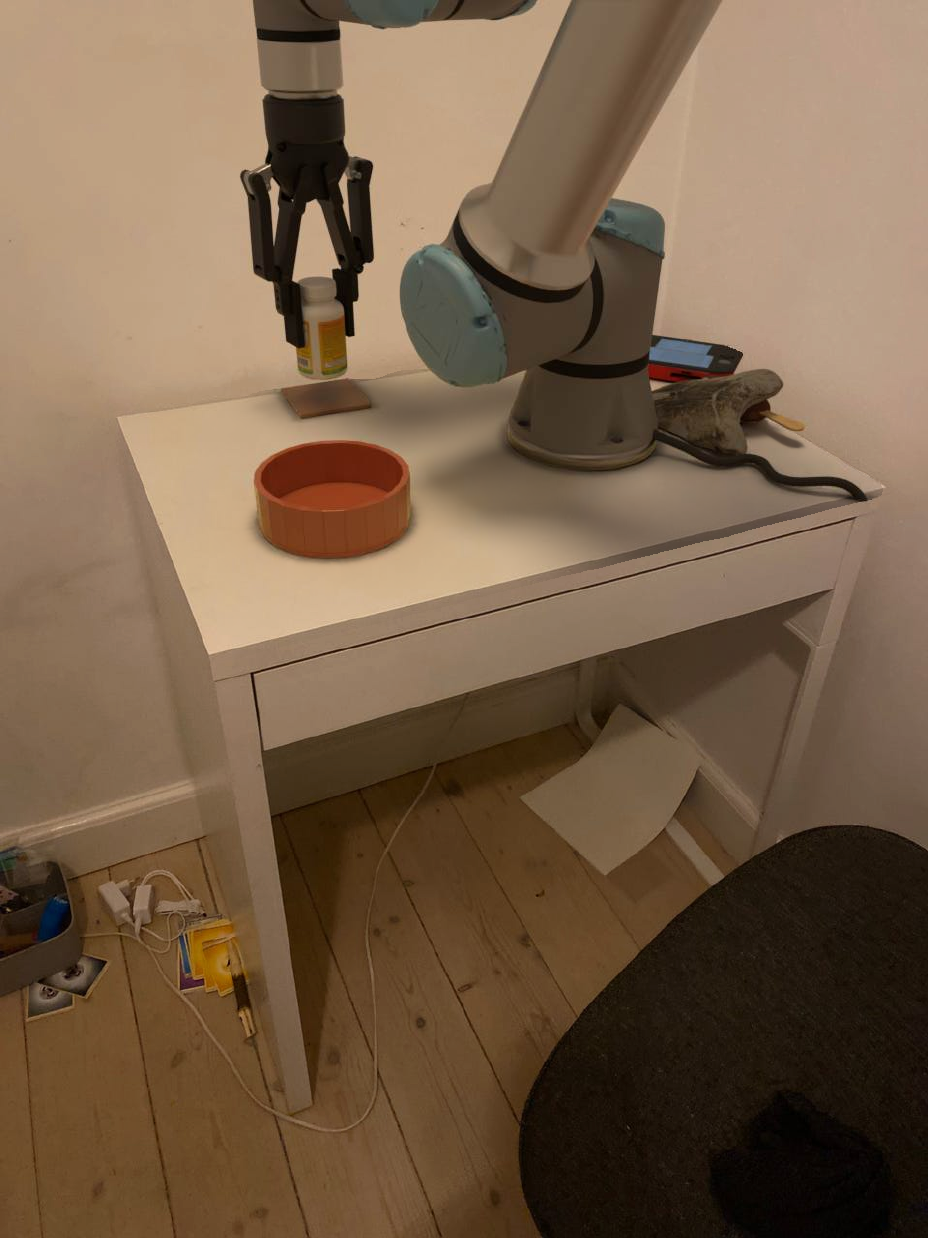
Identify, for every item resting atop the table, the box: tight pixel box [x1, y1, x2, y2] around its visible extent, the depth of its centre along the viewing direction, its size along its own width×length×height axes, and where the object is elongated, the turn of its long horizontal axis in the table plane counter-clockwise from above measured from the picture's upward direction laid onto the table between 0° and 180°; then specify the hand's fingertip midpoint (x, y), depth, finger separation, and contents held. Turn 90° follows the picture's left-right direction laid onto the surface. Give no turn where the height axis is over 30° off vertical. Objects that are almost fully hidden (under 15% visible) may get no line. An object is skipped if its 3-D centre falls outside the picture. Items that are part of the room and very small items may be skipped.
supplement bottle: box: [295, 276, 348, 381], centre depth 101 cm, size 5×5×10 cm
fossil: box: [652, 368, 784, 455], centre depth 100 cm, size 11×5×15 cm
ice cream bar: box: [701, 375, 805, 432], centre depth 101 cm, size 3×5×15 cm
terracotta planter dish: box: [253, 439, 412, 559], centre depth 83 cm, size 13×13×4 cm
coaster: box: [280, 377, 373, 419], centre depth 106 cm, size 8×8×1 cm
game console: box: [648, 334, 744, 383], centre depth 115 cm, size 14×13×2 cm
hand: (320, 338), depth 102 cm, fingers closed on supplement bottle, 5 cm apart
